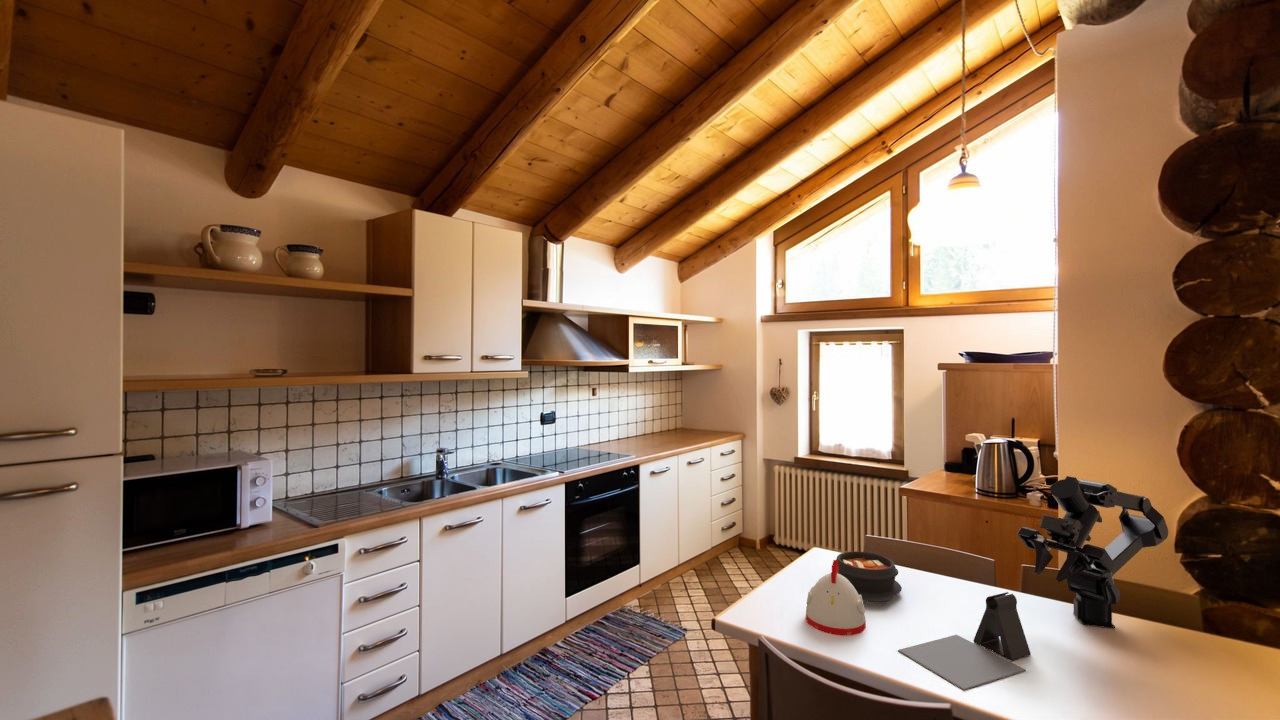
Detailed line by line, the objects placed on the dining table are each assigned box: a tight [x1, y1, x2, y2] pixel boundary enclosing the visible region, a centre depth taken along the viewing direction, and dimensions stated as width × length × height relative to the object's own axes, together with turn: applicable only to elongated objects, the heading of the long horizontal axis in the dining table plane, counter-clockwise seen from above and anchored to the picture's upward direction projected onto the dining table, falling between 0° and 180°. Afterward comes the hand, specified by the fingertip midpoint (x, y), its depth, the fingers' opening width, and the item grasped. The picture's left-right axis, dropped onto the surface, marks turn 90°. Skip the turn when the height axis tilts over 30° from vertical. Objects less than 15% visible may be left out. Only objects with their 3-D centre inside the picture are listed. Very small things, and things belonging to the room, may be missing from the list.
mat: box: [897, 634, 1027, 691], centre depth 121 cm, size 18×16×1 cm
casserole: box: [835, 550, 902, 603], centre depth 158 cm, size 25×19×8 cm
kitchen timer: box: [805, 559, 867, 636], centre depth 139 cm, size 14×14×15 cm
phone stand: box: [973, 591, 1031, 662], centre depth 126 cm, size 9×6×12 cm, turn 22°
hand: (1046, 577), depth 132 cm, fingers open, 4 cm apart
